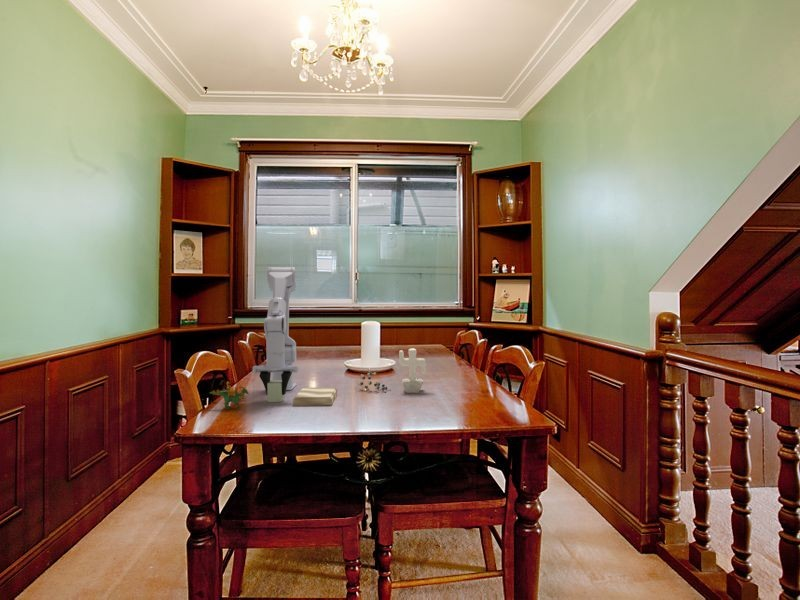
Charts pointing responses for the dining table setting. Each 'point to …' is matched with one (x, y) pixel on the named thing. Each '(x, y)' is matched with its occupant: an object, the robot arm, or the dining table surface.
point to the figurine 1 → (231, 395)
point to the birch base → (315, 396)
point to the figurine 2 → (412, 370)
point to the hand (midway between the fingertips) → (276, 394)
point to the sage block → (275, 391)
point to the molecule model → (371, 383)
